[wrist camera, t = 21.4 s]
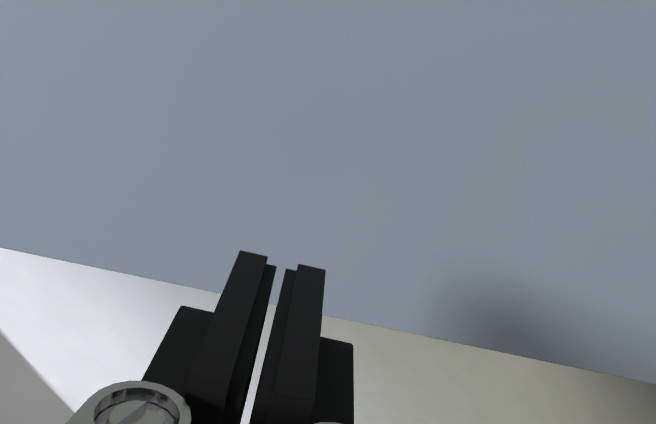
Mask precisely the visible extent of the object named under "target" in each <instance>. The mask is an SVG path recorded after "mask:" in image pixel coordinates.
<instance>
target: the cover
mask: <svg viewBox="0 0 656 424" xmlns="http://www.w3.org/2000/svg"><path fill="white" fill-rule="evenodd" d="M0 248H5V249H10V250H15V251H19V252H24V253H29V254H34V255H39V256H43V257H48V258H53V259H58V260H62V261H67V262H72V263H77V264H82V265H86V266H91V267H96V268H101V269H106V270H110V271H115V272H120V273H125V274H130V275H134V276H139V277H144V278H149V279H154V280H158V281H163V282H168V283H173V284H177V285H182V286H187V287H192V288H197V289H201V290H206V291H211V292H216V293H221V294H222V292H223V290H224V287H225V285H226V282H227V280H228V278H229V275H230V273H231V270H232V268H233V266H234V263H235V261H236V258H237V256H238V254H239V251H240V250H242V251H246V252H251V253H255V254H259V255H264V256H268V259H267V264H270V265H274V266H277V268H276V273H275V277H274V281H273V286H272V290H271V294H270V299H269V304H273V305H277V303H278V299H279V295H280V291H281V286H282V282H283V278H284V274H285V270H286V268H287V269H291V270H297V266H298V264H303V265H307V266H311V267H316V268H320V269H324V270H326V274H325V286H324V298H323V309H322V315H326V316H331V317H336V318H340V319H345V320H350V321H355V322H360V323H364V324H369V325H374V326H379V327H384V328H388V329H393V330H398V331H403V332H407V333H412V334H417V335H422V336H427V337H431V338H436V339H441V340H446V341H451V342H455V343H460V344H465V345H470V346H475V347H479V348H484V349H489V350H494V351H499V352H503V353H508V354H513V355H518V356H522V357H527V358H532V359H537V360H542V361H546V362H551V363H556V364H561V365H566V366H570V367H575V368H580V369H585V370H590V371H594V372H599V373H604V374H609V375H614V376H618V377H623V378H628V379H633V380H637V381H642V382H647V383H652V384H656V0H0Z"/></svg>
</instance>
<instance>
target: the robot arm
mask: <svg viewBox="0 0 656 424" xmlns="http://www.w3.org/2000/svg"><path fill="white" fill-rule="evenodd" d="M267 259H268V256H264V255H259V254H255V253H251V252H246V251H242V250H240V251H239V254H238V256H237V258H236V261H235V263H234V266H233V268H232V270H231V273H230V275H229V278H228V280H227V282H226V285H225V287H224V290H223V292H222V294H221V297H220V299H219V302H218V304H217V307H216V309H215V311H214V313H213V312H209V311H204V310H200V309H195V308H191V307H186V306H181V307H180V309H179V310H178V312H177V314H176V316H175V318H174V319H173V321H172V323H171V325H170V327H169V329H168V331H167V333H166V335H165V337H164V338H163V340H162V342H161V344H160V346H159V348H158V350H157V352H156V354H155V355H154V357H153V359H152V361H151V363H150V365H149V367H148V369H147V371H146V372H145V374H144V376H143V378H142V380H141V381H126V382H120V383H115V384H112V385H110V386H107V387H105V388H102V389H100V390H99V391H97V392H96V393H95V394H94V395H92V396H91V397H90V398H89V399H88V400H87V401H86V402H85V403H84V404H83V405H82V406H81V407H80V408H79V410H78V411H77V412H76V413H75V414H74V415H73V416H72V417H71V418H70V419H69V421H68V422H67V423H66V424H240V422H241V418H242V414H243V410H244V406H245V402H246V398H247V394H248V389H249V385H250V381H251V377H252V372H253V368H254V364H255V359H256V355H257V351H258V346H259V342H260V338H261V333H262V329H263V325H264V320H265V316H266V312H267V307H268V303H269V299H270V294H271V290H272V286H273V281H274V277H275V273H276V268H277V266H274V265H270V264H267ZM325 274H326V270H324V269H320V268H316V267H311V266H307V265H303V264H298V266H297V270H291V269H287V268H286V270H285V274H284V278H283V282H282V286H281V291H280V295H279V299H278V303H277V308H276V312H275V316H274V320H273V324H272V329H271V333H270V337H269V341H268V346H267V350H266V354H265V358H264V362H263V367H262V371H261V375H260V379H259V384H258V388H257V392H256V396H255V401H254V405H253V409H252V414H251V418H250V422H249V424H354V383H353V345H352V344H351V343H346V342H342V341H338V340H333V339H329V338H324V337H320V333H321V321H322V309H323V298H324V286H325Z"/></svg>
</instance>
